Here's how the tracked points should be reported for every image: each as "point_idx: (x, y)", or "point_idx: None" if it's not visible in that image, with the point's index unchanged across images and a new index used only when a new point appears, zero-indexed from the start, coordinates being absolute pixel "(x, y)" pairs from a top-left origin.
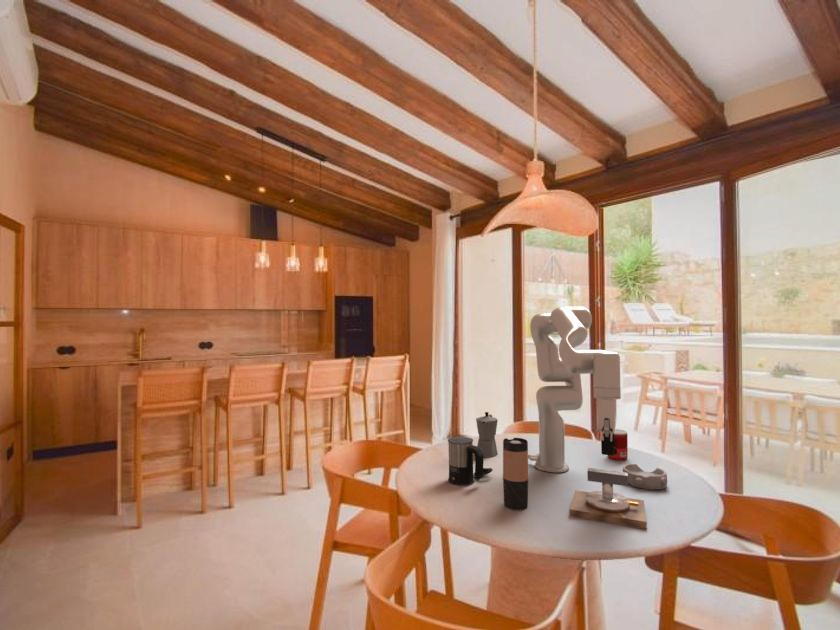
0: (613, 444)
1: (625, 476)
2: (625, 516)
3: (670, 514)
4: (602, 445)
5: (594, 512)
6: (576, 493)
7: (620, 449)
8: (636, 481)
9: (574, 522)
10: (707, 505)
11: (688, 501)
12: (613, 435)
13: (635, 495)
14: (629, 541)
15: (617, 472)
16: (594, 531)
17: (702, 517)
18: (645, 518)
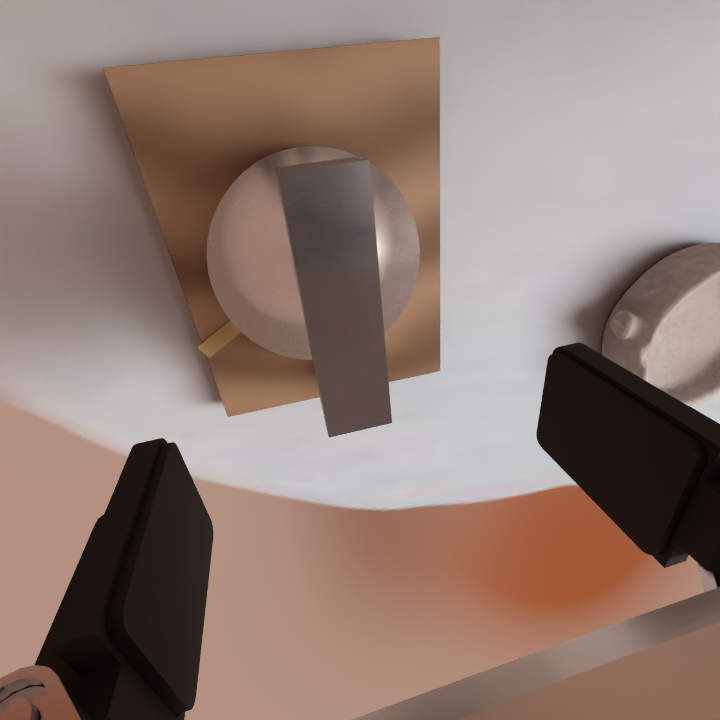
0: (554, 457)
1: (326, 423)
2: (226, 349)
3: (403, 430)
4: (97, 558)
5: (170, 221)
6: (388, 58)
7: None
8: (621, 318)
9: (55, 122)
10: (513, 483)
11: (528, 446)
12: (644, 549)
13: (533, 313)
14: (71, 378)
15: (365, 378)
16: (38, 243)
17: (421, 489)
18: (259, 408)
